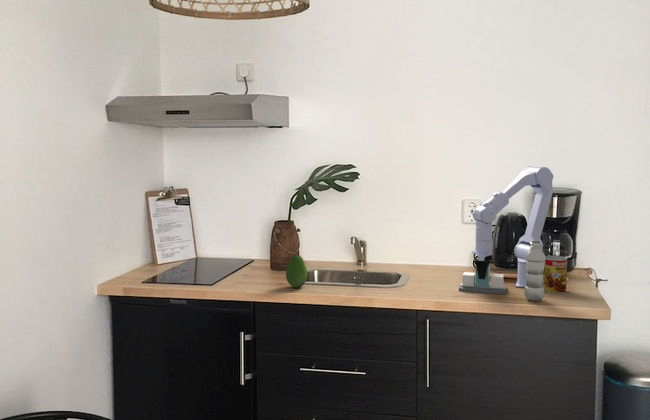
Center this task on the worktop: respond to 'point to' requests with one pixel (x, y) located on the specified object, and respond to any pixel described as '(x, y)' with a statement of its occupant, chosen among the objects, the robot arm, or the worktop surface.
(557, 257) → the canned food
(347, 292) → the worktop surface
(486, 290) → the rail board
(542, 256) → the plastic bottle
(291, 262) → the avocado
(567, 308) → the worktop surface
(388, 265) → the worktop surface
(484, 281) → the block
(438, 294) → the worktop surface
